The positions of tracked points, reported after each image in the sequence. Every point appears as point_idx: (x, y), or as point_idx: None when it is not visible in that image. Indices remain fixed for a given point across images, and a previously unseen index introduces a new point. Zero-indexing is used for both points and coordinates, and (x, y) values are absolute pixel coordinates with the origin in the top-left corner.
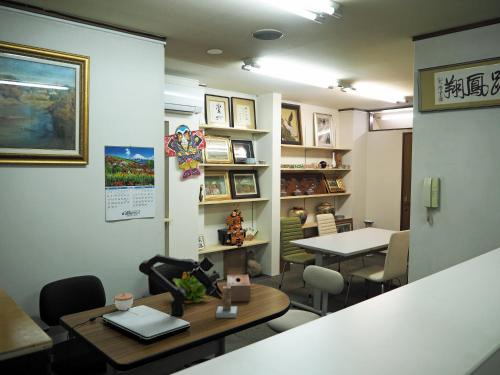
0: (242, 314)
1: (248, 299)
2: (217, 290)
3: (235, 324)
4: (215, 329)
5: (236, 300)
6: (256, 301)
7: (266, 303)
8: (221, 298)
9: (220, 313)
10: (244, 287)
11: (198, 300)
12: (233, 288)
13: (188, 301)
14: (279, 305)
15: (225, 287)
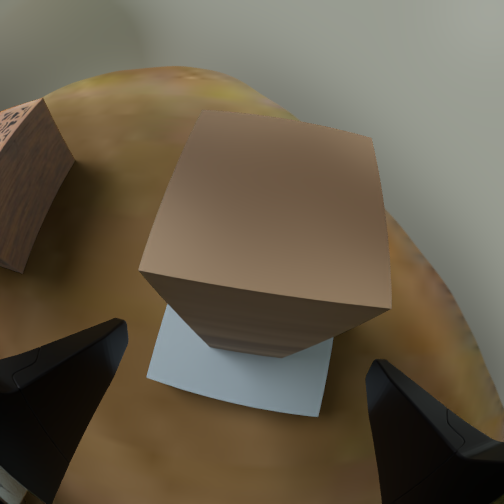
0: None
1: (68, 162)
2: (82, 395)
3: (427, 288)
4: (470, 393)
5: (40, 221)
6: (100, 137)
7: (147, 107)
8: (382, 363)
9: (324, 380)
10: (27, 131)
11: None
12: None
13: None
14: (193, 79)
15: (307, 216)
